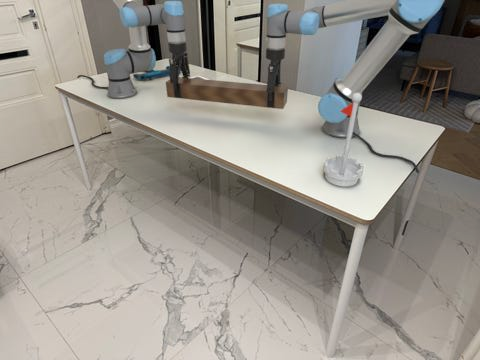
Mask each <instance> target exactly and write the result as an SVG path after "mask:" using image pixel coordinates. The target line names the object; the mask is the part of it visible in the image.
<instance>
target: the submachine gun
mask: <svg viewBox="0 0 480 360" xmlns="http://www.w3.org/2000/svg"><path fill="white" fill-rule="evenodd" d="M179 73H181V69H179ZM167 75H170V65H167V66H165V69H160V70H159V69H157V70H155V69H153V70H149V71H147V72H143V73H132V77H133V78H134V79H136V80H138V81H145V80H150V81H152V79H153V78H159V77H164V76H167Z"/></svg>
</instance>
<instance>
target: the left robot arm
mask: <svg viewBox="0 0 480 360" xmlns="http://www.w3.org/2000/svg"><path fill="white" fill-rule="evenodd" d="M112 1H113V3H114V4H115V6H116V7H117V8H118V9H119V19H120V21H121V24H122V25H123V27H124V28H128V33H129V39H130V44H129V45H128V50H126V49H125V48H115V49H111V50H108V51H106V52H105V53H104V54H103V61H104V62H103V63H104V66H105V71H106V75H107V80H108V85H107V86H99V85H97V84H94V82H95V80H94V78H93V77H90V76H88V75H85V74H79V75H77V77H76V78H77V79H79V78H80V77H82V78H87V79H90V80H91V85H92V87H94V88H97V89H104V90H105V89H106V90H107V96H108V97H109V98H111V99H127V98H131V97H133V96H136V94H137V89H136V87H135V85H134V83H133V81H132V79H131V74H132V75H133V74H139V73H146V72H147V71H149V70H155V69H154V68H155V67H156V63H157V58H156V57H157V56H156V53H155V50H154V48H151V45H150V44H149V43H148V38H147V28H146V27H148V26H158V25H160V26H161V25H165V26H166V27H165V28H166V36H167V42H168V43H167V44H168V52H169V53H171V55H172V56H171V58H169V59H168V64H169V66H170V74H169V80H170V83H173V87H174V96H175V97H176V98H175V99H181V95H180V84H179V83H178V80H179V77H180V73H181V75H182V76H181V77H182V78H190V77H191V70H190V65H189V59H188V58H189V57H188V52H187V42H186V41H187V39H186V38H187V36H186V28H185V27H186V25H185V11H184V5H183V2H182V1H180V0H167V1H164V3H156V4H152V5H149V4H148V5H144V1H143V0H112ZM179 69H181V71H180V72H179Z"/></svg>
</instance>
